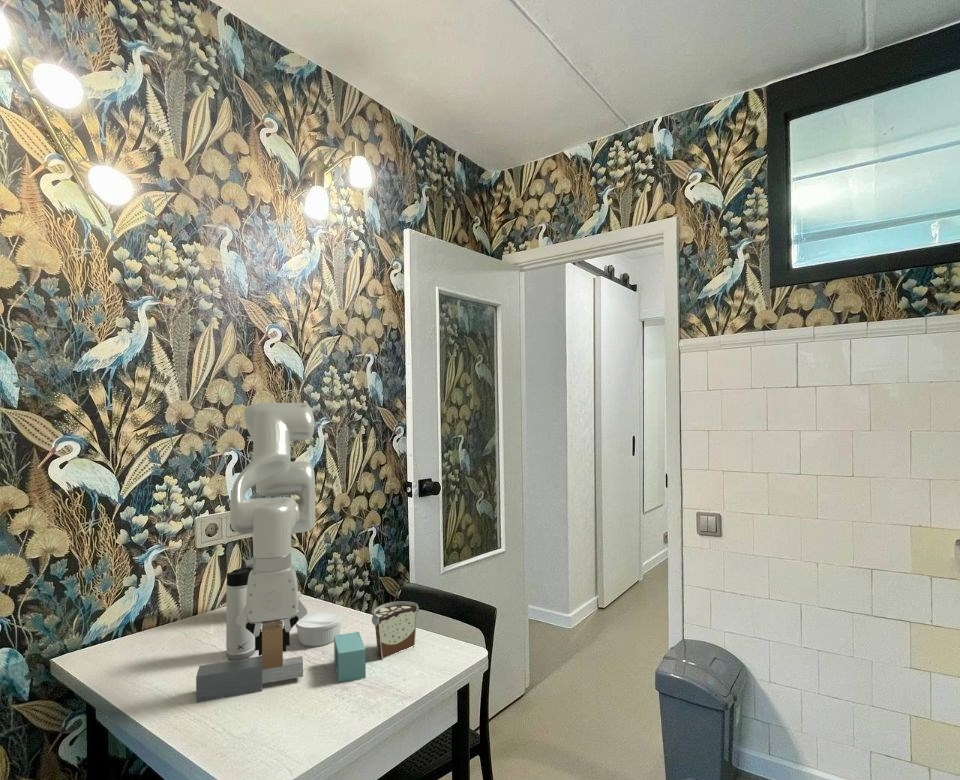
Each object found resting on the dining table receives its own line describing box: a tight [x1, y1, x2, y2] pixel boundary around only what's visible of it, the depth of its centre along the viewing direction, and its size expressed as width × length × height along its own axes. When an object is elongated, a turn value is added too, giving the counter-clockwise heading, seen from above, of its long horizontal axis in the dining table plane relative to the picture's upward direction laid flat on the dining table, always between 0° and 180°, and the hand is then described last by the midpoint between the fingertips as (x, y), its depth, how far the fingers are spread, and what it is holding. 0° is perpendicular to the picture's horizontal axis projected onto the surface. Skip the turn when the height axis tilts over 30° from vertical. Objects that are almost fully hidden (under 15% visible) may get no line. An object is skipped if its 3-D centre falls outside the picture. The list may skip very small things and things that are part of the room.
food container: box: [371, 600, 420, 660], centre depth 131 cm, size 12×6×10 cm, turn 135°
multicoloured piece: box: [261, 620, 304, 685], centre depth 114 cm, size 19×4×11 cm, turn 110°
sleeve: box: [195, 655, 263, 703], centre depth 112 cm, size 12×5×5 cm, turn 110°
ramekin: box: [295, 609, 343, 648], centre depth 137 cm, size 11×11×5 cm
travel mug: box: [225, 566, 256, 661], centre depth 129 cm, size 6×7×20 cm
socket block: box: [333, 631, 367, 683], centre depth 120 cm, size 6×10×6 cm, turn 20°
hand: (272, 650), depth 115 cm, fingers closed on multicoloured piece, 4 cm apart
